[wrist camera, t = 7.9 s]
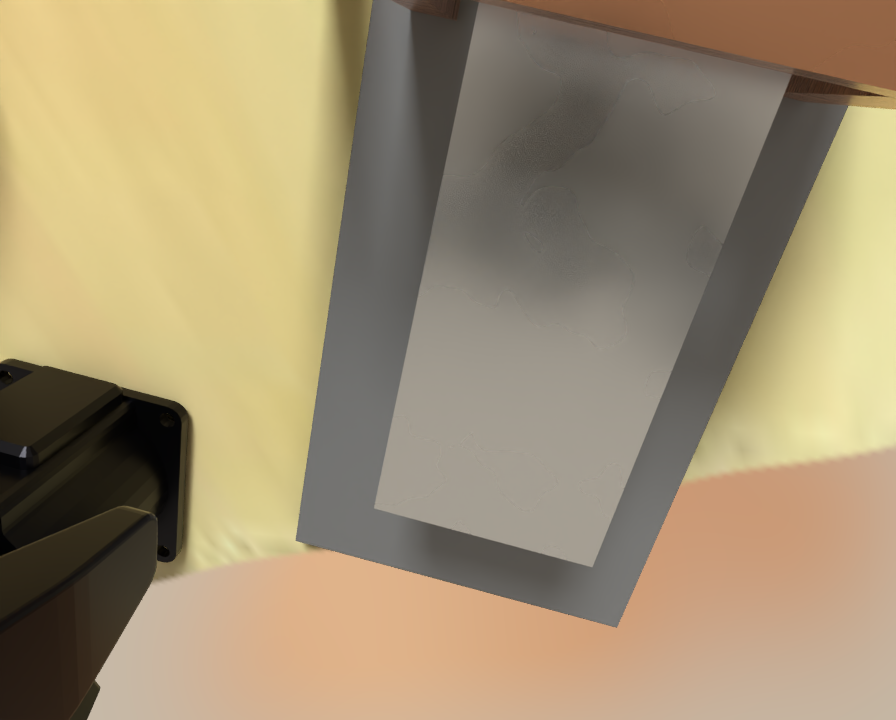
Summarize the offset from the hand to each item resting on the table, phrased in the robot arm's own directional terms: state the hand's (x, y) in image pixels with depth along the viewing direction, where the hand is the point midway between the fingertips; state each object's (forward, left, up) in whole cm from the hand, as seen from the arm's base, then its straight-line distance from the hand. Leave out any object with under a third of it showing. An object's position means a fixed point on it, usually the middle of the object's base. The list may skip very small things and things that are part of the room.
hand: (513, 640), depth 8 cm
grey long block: (+4, 0, -11) cm, 12 cm away
